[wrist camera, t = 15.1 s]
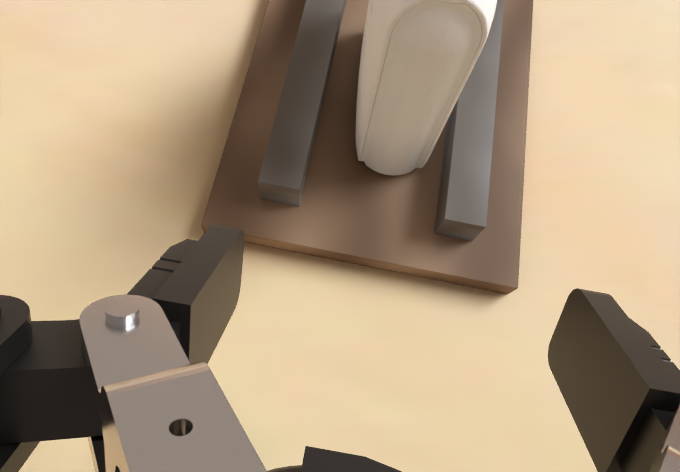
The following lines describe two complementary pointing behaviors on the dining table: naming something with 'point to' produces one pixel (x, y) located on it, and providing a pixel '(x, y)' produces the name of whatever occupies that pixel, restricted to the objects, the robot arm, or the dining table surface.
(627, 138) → the dining table surface
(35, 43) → the dining table surface
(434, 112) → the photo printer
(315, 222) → the cradle
